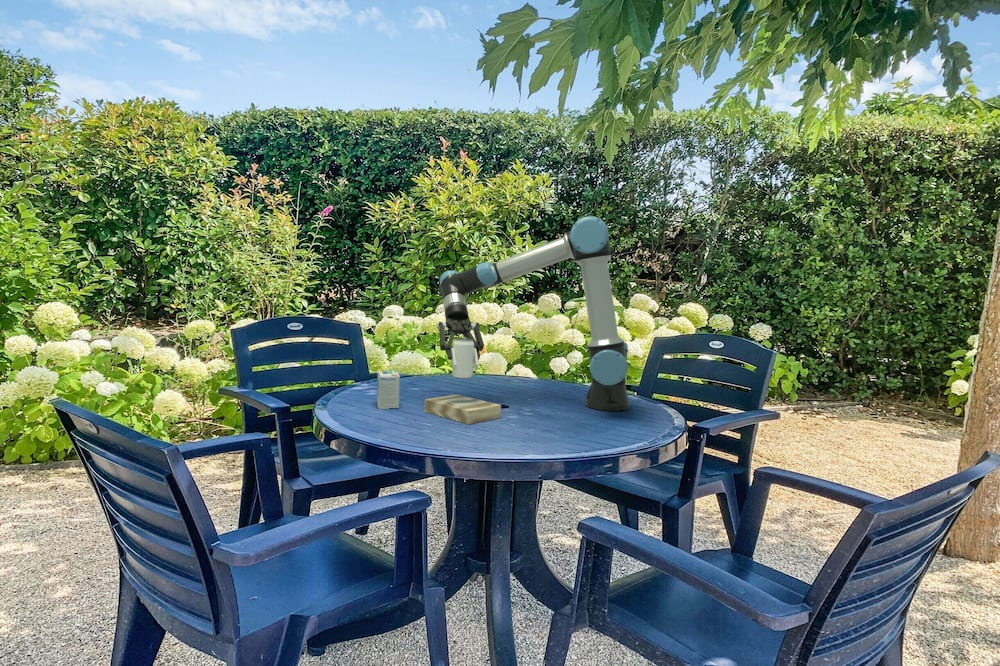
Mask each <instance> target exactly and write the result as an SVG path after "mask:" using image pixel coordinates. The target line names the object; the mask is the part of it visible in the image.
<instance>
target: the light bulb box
mask: <svg viewBox="0 0 1000 666" xmlns="http://www.w3.org/2000/svg"><path fill="white" fill-rule="evenodd" d="M376 372H377V373H376V376H377V378H376V404H377V408H379V409H378V410H390V409H389V408H400V388H401V387H400V384H401V383H400V381H401V376H400V374H399V373H398V371H397V370H377V371H376Z"/></svg>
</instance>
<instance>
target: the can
mask: <svg viewBox="0 0 1000 666" xmlns="http://www.w3.org/2000/svg"><path fill="white" fill-rule="evenodd" d="M454 339H455V340H453V343H452V345H453V347H452V348H454V352H455V358H456V364H457V365H456V368H455V370H451V375H452V377H453V378H456V379H463V380H464V379H472V377H473V375H474V374H473V373H474V362H473V360H474V343H473V339H471V338H465V337H456V338H455V337H454Z"/></svg>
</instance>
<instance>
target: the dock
mask: <svg viewBox="0 0 1000 666" xmlns="http://www.w3.org/2000/svg"><path fill="white" fill-rule="evenodd" d="M423 409H424V411H423V412H424V413H426V412H428V413H427V414H430V413H431V414H430V415H433V414H434V415H433V416H437V415H438V416H437V417H440V416H442V417H441V418H444V417H446V418H445V419H447V418H449V419H448V420H451V419H452V420H451V421H454V420H456V421H455V422H458V421H459V422H458V423H461V422H462V424H465V425H468V424H469V425H473V424H477V422H478V423H481V422H482V421H483V422H486V421H491V419H492V420H496V419H501V414H502V413H501V411H502V405H501V404H498V403H496V402H494V403H493V402H490V401H485V400H482V399H479V398H478V399H477V398H473V397H469V396H465V395H460V394H451V395H446V396H439V397H433V398H425V399H424V408H423Z"/></svg>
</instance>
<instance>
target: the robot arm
mask: <svg viewBox="0 0 1000 666" xmlns="http://www.w3.org/2000/svg"><path fill="white" fill-rule="evenodd" d="M609 235H610V234H609V228H608V226H607V224H606V223H605V221H604V220H603V219H601V218H599V217H597V216H592V215H590V216H589V215H588V216H583V217H580V219H578V220H577V221H575V223H574V224H573V225H572V227H571V230H570V231H567V232H564V234H563V237H560V238H557V239H555V240H552V241H549V242H547V243H544V244H541V245H539V246H536V247H533V248H531V249H528V250H525V251H522V252H520V253H518V254H515V255H513V256H510V257H507V258H504V259H501V260H499V261H497V262H494V263H491V262H490V261H485V262H483V263H477V265H475V266H472V267H471V268H469V269H468V268H467V270H464V271H462V272H459V271H457V270H454V269H453V270H446V271H445V272H443V273H442V274H441V275H440V277H439V287H440V292H441V296H442V297H441V299H442V304H443V310H444V318H445V322H442V321H438V324H437V330H438V333H439V349H440V351H441V352H444V351H445V354H446V356H447V359H448V360H449V361H451V369H452V370H455V368H456V365H457V364H456V358H455V352H454V348H453V347H452V345H453V343H454V339H455V335H462V336H463V338H471V339H473V343H474V360H473V369H474V370H475V371H478V369H479V366H480V363H479V360H480V358H481V353H480V352H482V351H483V350H484V347H485V343H484V340H483V337H482V333H481V330H480V322H476V323H473V322H472V321H471V320H470V317H469V312H468V305H467V302H466V295H468V294H471V293H473V292H475V291H478V290H480V289H491V288H493V287H496V286H497V285H500V284H503V283H506V282H507V281H510V280H513V279H517V278H519V277H521V276H524V275H526V274H529V273H532V272H535V271H539V270H540V269H543V268H546V267H549V266H551V265H554V264H557V263H559V262H561V261H562V262H563V261H565V260H568V259H573V260H574V261H575V263H576V264H577V265H578V266H579V267H580V270H581V277H582V278H581V279H582V284H583V289H584V298H585V305H586V310H587V317H588V318H587V319H588V323H589V324H588V325H589V331H590V336H591V337H590V338H591V339H590V341H589V343H588V344H587V349H588V356H589V371H590V374H591V384H590V386H589V389H588V392H587V393H586V394H587V395H586V397H585V407H586V408H587V407H588V408H589V409H590V408H591V409H594V410H597V409H598V411H605V410H606V411H608V412H621V411H620V410H623V411H627V410H629V409H630V399H629V396H628V395H629V394H628V391H627V387H626V381H627V380H626V379H627V374H628V370H629V369H628V368H629V364H628V352H629V349H628V346H629V345H628V344H627V343H626V341H624V339H623V338H621V337H620V336H619V333H618V326H617V319H616V313H615V305H614V298H613V292H612V285H611V278H610V272H609V270H610V269H609V264H608V262H609V260H610V258H612V251H611V246H610V245H611V244H610V236H609ZM446 328H447V329H448V330H449V331H450V333H449V338H448V341H447V344H446V331H445V330H446ZM470 329H472V331H473V334H472V332H471V330H470ZM473 335H474V336H473ZM452 370H451V371H452ZM628 408H629V409H628ZM626 409H627V410H626Z"/></svg>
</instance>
